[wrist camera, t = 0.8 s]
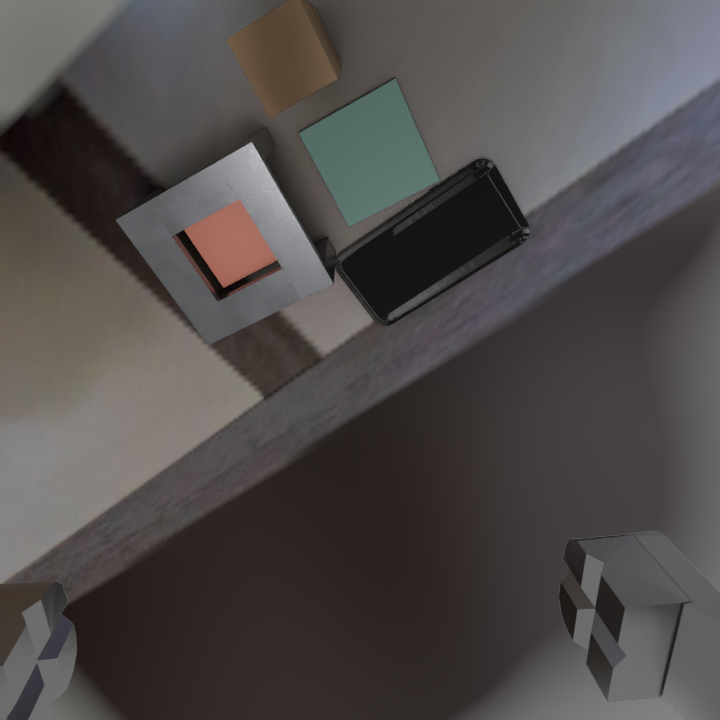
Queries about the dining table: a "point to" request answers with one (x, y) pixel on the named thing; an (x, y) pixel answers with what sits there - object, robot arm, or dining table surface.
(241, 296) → the frame
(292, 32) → the peg
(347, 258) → the phone
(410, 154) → the mat
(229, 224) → the salmon pink panel
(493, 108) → the dining table surface
